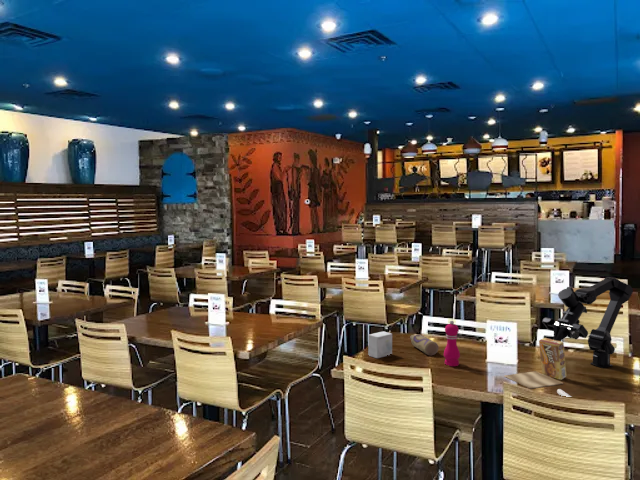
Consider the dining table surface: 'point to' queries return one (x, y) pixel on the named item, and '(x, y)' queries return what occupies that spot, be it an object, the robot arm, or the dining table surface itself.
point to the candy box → (552, 358)
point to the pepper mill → (451, 345)
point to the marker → (562, 393)
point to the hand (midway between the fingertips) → (554, 343)
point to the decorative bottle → (424, 344)
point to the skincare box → (380, 344)
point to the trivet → (533, 379)
